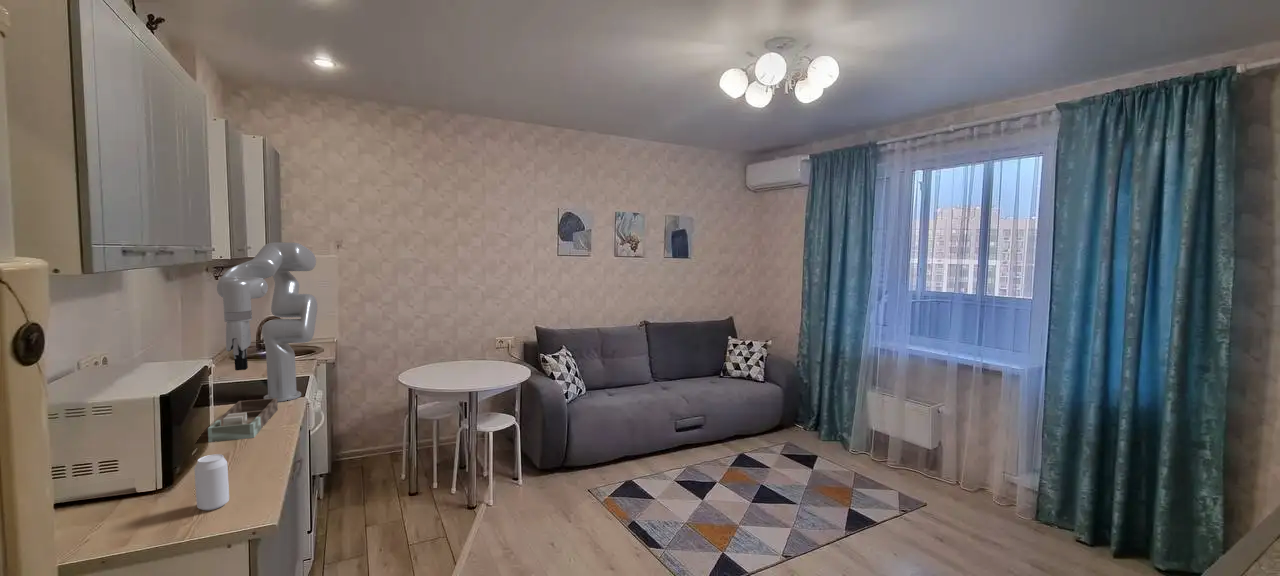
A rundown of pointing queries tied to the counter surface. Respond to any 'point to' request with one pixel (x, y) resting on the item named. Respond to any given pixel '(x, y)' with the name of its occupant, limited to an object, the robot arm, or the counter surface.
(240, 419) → the block
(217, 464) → the beverage can
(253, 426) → the box
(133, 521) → the counter surface
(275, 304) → the robot arm
